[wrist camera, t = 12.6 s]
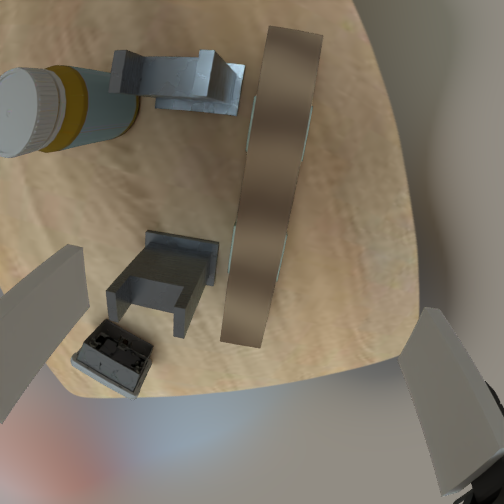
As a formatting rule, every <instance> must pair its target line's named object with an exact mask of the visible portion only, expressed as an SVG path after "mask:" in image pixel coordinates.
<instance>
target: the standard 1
mask: <svg viewBox="0 0 504 504" xmlns="http://www.w3.org/2000/svg"><path fill="white" fill-rule="evenodd" d="M218 248H219V242H214V241H208V240H202V239H196V238H191V237H185V236H179V235H173V234H168V233H162V232H156V231H150V230H147V231H146V238H145V248H144V249H143V250H142V251H141V252H140V253H139V254H138V255H137V256H136V258H135V259H134V260H133V261H132V262H131V263H130V264H129V265H128V266H127V267H126V269H125V270H124V271H123V272H122V273H121V274H120V275H119V276H118V277H117V279H116V280H115V281H114V282H113V283H112V284H111V285H110V287H109V288H108V289H107V290H106V298H107V307H108V315H109V320H111V321H114V322H119V321H120V319H121V318H122V316H123V315H124V314H125V312H126V311H127V309H128V308H129V306H130V305H131V304H135V305H139V306H143V307H148V308H152V309H156V310H161V311H165V312H170V313H174V330H173V336H174V337H179V338H183V339H184V338H185V335H186V333H187V330H188V327H189V325H190V322H191V320H192V317H193V315H194V312H195V310H196V307H197V305H198V303H199V300H200V298H201V295H202V293H203V290H204V288H205V285H209V286H214V282H215V273H216V265H217V256H218Z"/></svg>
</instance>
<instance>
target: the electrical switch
mask: <svg viewBox="0 0 504 504" xmlns="http://www.w3.org/2000/svg"><path fill="white" fill-rule="evenodd" d="M105 320H106V321H105ZM105 320H104V321H103V322H102V323H101V324H100V325H99V326H98V327H97V328H96V329H95V331H94V332H93V333H92V334H91V335H90V336H89V337H88V338H87V339H86V340H85V341H84V343H83V346H82V347H81V348H80V350H79V351H78V352H77V353H76V352H75V353H74V354H73V355H72V357H71V364H72V366H74V367H75V368H77V369H78V370H80V371H82V372H83V373H85V374H86V375H88V376H90V377H91V378H93V379H95V380H96V381H98V382H100V383H102V384H103V385H105V386H107V387H109V388H110V389H112V390H114V391H116V392H118V393H119V394H121V395H123V396H125V397H127V398H129V399H134V400H135V399H136V398H137V396H138V395H139V393H140V389H141V386H142V384H143V382H144V380H145V378H146V375H147V373H148V371H149V369H150V367H151V365H152V361H151V359H149V357H150V355H151V352H152V350H153V345H151V344H149V343H147V342H145V341H144V340H142V339H140V338H138V337H136V336H135V335H133V334H131V333H129V332H127V331H126V330H124V329H122V328H120V327H119V326H117V325H115V324H114V323H112V322H110V321H109V320H107V319H105ZM104 322H105V323H104ZM120 336H121V338H120ZM119 338H120V340H119ZM124 339H126V340H128V346H126V345H125V344H123V343H122V342H123V340H124ZM138 340H139V341H138ZM131 342H132V345H131ZM131 348H132V349H133V350H132V349H131ZM143 355H144V356H143Z"/></svg>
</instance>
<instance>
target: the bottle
mask: <svg viewBox="0 0 504 504" xmlns="http://www.w3.org/2000/svg"><path fill="white" fill-rule="evenodd" d="M110 75H111V73H108V72H102V71H97V70H91V69H85V68H78V67H72V66H62V65H60V66H59V65H55V66H51V67H48V68H46V69H38V68H22V67H18V68H14V69H11V70H8V71H7V72H5V73H4V74H3V75H1V76H0V156H1V157H5V158H13V157H16V156H20V155H24V154H27V153H31V152H34V151H41V152H45V153H49V152H55V151H61V150H65V149H69V148H73V147H77V146H81V145H86V144H90V143H95V142H100V141H105V140H110V139H113V138H116V137H118V136H120V135H122V134H124V133H125V132H126V131H127V130H128V129H129V128H130V127H131V125H132V123H133V122H134V120H135V118H136V115H137V112H138V107H139V98H138V96H136V95H127V94H116V93H108V89H109V82H110Z"/></svg>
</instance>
